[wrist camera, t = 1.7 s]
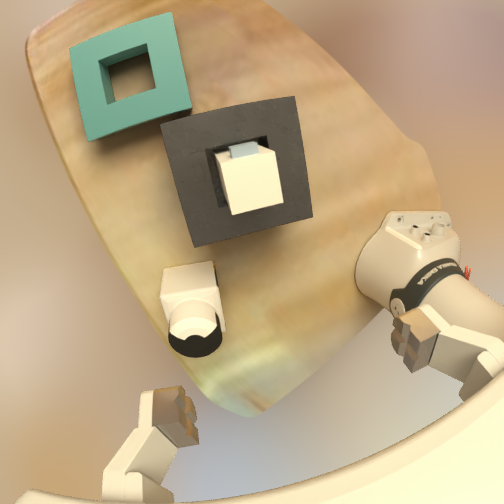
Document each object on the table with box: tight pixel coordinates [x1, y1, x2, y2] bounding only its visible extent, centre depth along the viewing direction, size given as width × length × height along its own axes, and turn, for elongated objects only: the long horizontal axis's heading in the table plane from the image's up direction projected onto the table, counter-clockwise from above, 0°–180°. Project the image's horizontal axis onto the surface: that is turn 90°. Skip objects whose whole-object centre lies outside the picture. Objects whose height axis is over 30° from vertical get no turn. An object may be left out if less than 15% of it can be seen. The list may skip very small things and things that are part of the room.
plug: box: [213, 141, 283, 215], centre depth 25 cm, size 4×5×9 cm
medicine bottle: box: [160, 261, 226, 358], centre depth 35 cm, size 7×7×12 cm
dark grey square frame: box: [160, 96, 313, 248], centre depth 30 cm, size 12×12×10 cm
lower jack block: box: [69, 12, 192, 142], centre depth 26 cm, size 12×12×4 cm
